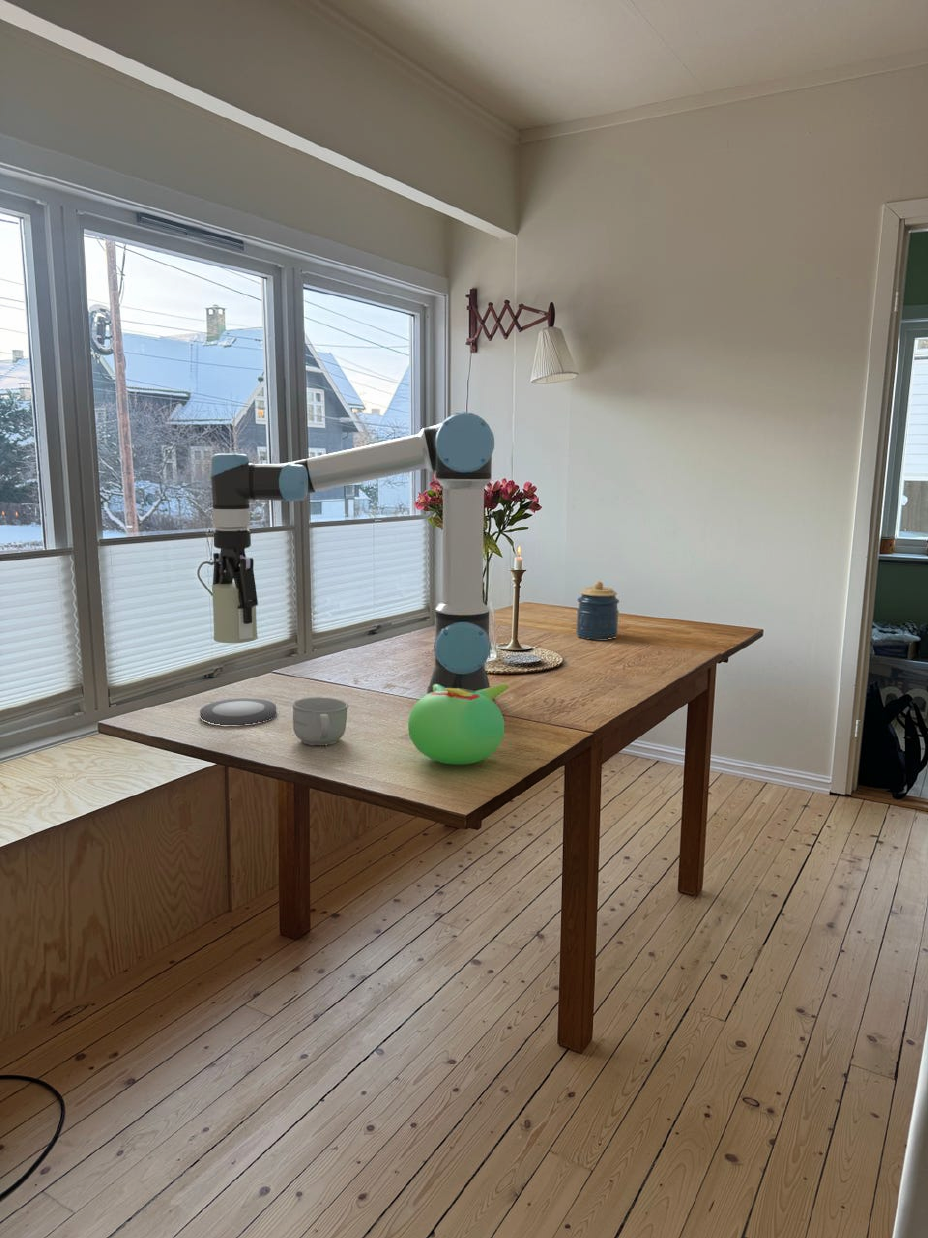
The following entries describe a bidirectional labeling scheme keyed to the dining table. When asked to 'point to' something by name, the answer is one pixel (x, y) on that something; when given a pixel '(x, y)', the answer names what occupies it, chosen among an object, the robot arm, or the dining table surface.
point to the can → (228, 614)
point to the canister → (597, 613)
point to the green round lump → (457, 724)
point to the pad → (238, 711)
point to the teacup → (319, 720)
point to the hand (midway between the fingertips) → (235, 634)
